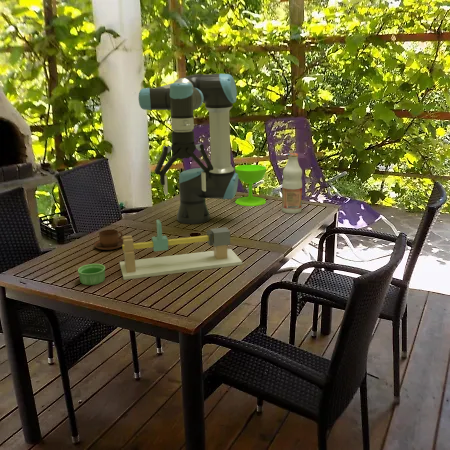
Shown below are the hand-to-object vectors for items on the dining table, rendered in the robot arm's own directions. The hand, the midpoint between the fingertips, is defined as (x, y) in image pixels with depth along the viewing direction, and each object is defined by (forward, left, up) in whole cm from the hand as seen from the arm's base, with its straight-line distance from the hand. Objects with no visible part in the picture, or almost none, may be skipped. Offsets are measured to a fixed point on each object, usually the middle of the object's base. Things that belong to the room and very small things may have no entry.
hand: (185, 192), depth 177 cm
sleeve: (+1, -10, -19) cm, 22 cm away
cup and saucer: (-27, -26, -27) cm, 46 cm away
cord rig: (+1, -3, -26) cm, 27 cm away
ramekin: (+5, -34, -27) cm, 43 cm away
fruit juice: (-49, +62, -27) cm, 83 cm away
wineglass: (-72, +49, -27) cm, 91 cm away
